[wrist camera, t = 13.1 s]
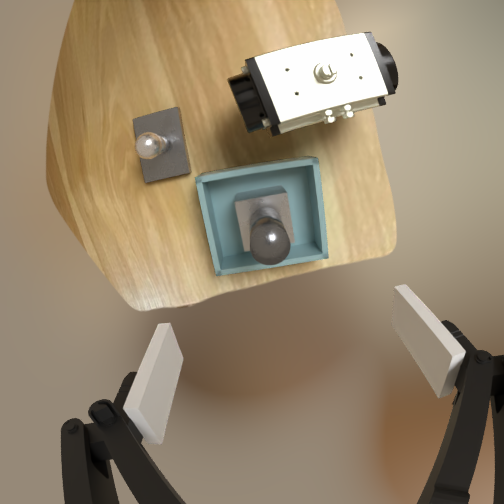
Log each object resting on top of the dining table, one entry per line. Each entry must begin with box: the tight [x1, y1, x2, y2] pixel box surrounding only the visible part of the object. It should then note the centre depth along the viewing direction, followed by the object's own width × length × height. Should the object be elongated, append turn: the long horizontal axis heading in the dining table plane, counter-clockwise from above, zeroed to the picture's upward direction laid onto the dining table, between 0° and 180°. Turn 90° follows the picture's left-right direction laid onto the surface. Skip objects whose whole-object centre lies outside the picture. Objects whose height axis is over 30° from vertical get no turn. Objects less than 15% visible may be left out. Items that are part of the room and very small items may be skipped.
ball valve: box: [227, 32, 398, 137], centre depth 31 cm, size 18×8×18 cm, turn 110°
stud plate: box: [133, 107, 191, 183], centre depth 37 cm, size 10×7×9 cm
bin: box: [195, 156, 329, 276], centre depth 42 cm, size 14×16×6 cm
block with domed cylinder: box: [235, 185, 295, 265], centre depth 37 cm, size 7×7×16 cm
